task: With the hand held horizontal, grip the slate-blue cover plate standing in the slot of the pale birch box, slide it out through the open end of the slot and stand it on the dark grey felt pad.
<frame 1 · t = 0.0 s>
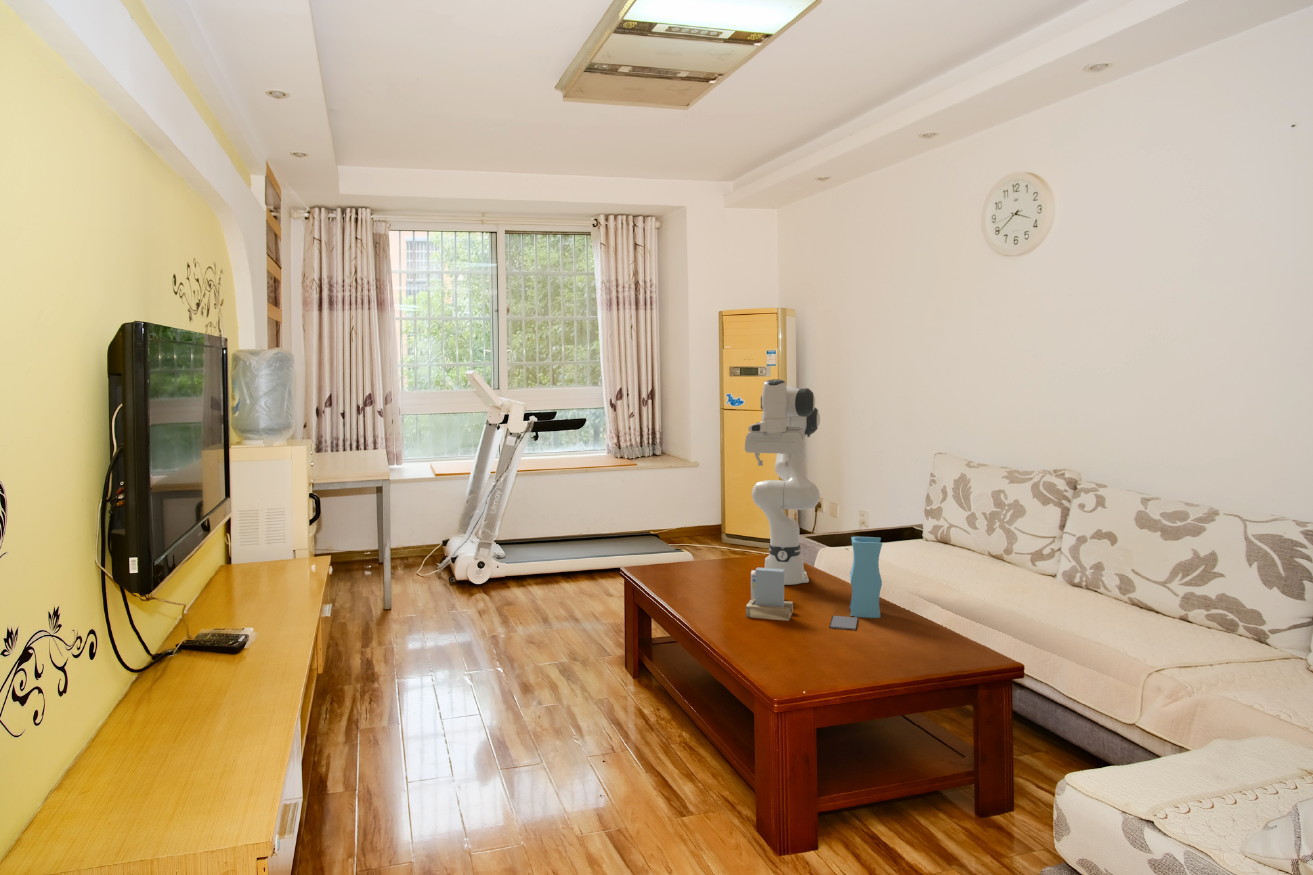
hand: (773, 466, 293), 48 cm above the table, tool pointing down, fingers open, 8 cm apart
felt pad: (837, 623, 271), on the table
cover plate: (769, 614, 278), point 1 cm above the table, touching birch box
vase: (864, 613, 283), on the table
light bulb box: (765, 602, 296), on the table
birch box: (769, 617, 278), on the table
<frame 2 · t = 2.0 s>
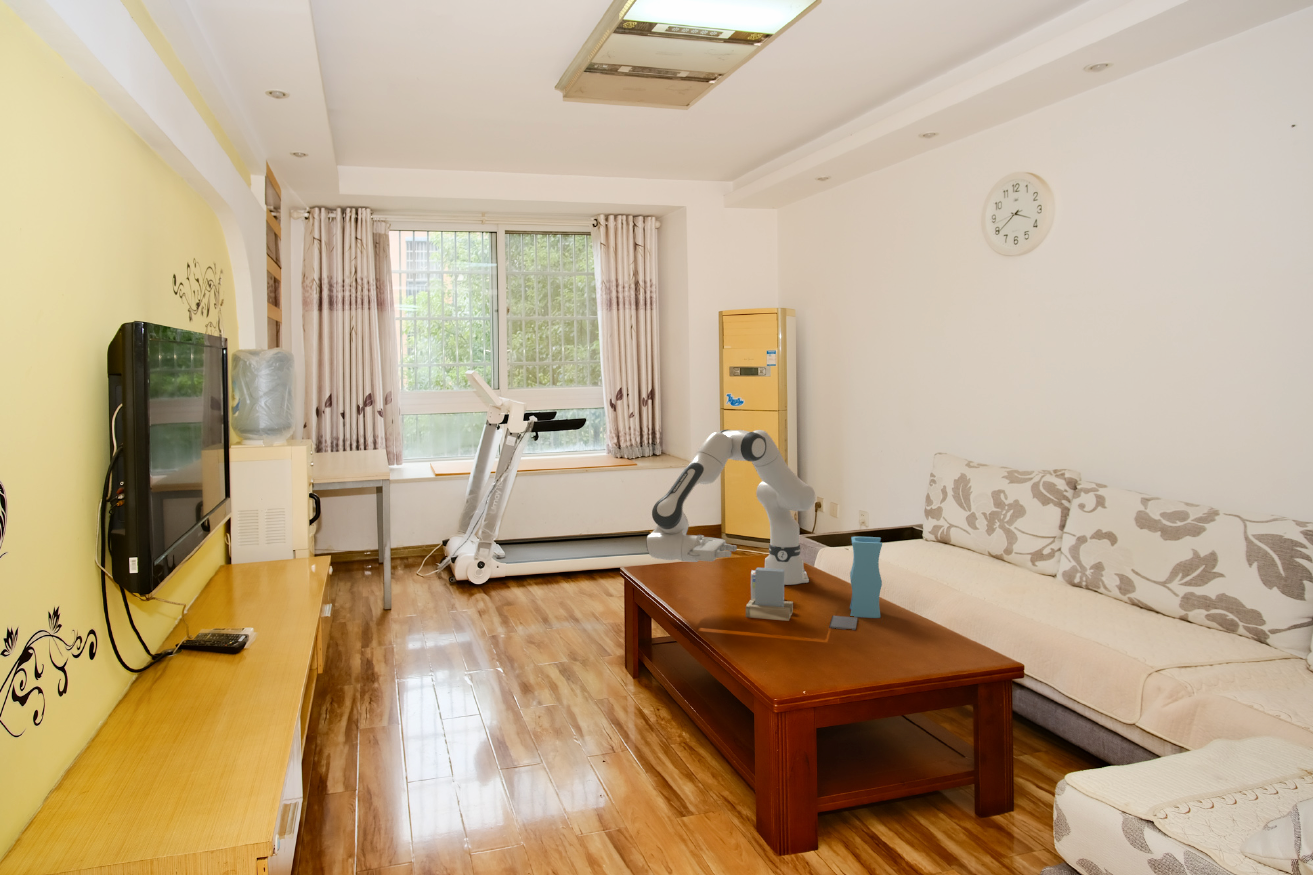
hand: (733, 551, 279), 21 cm above the table, tool horizontal, fingers open, 8 cm apart
nothing on the table moved.
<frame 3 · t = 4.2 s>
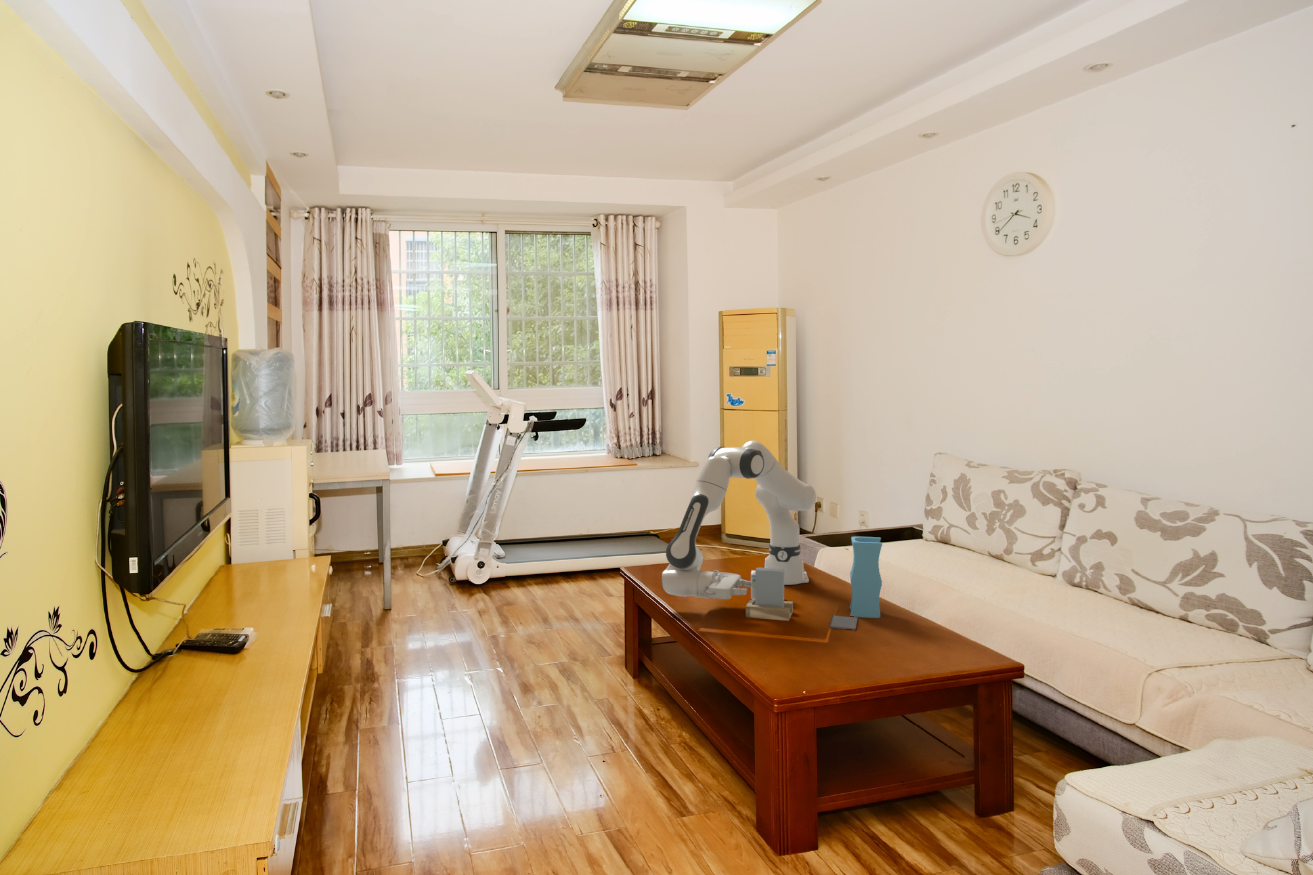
hand: (749, 587, 279), 9 cm above the table, tool horizontal, fingers open, 8 cm apart
nothing on the table moved.
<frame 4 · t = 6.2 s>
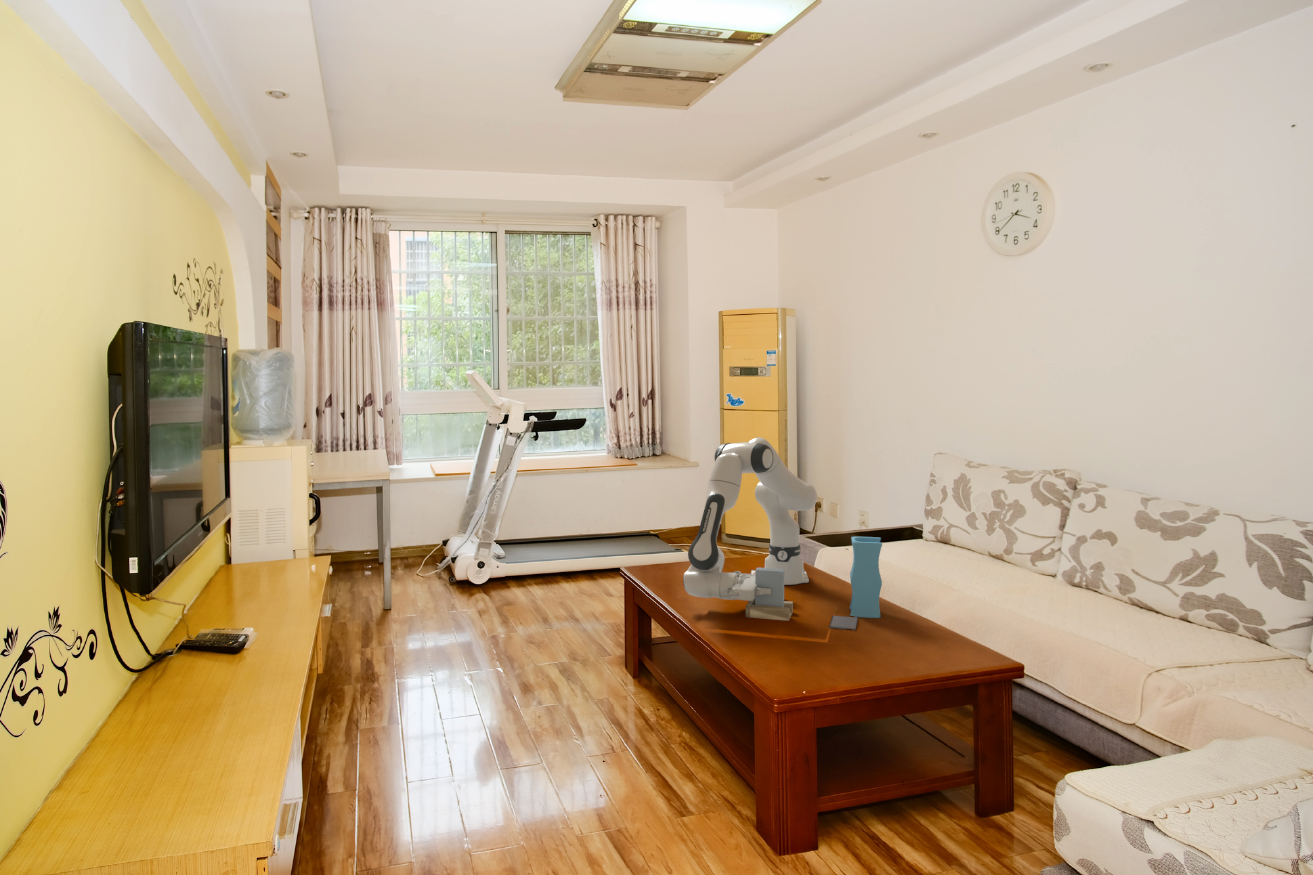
hand: (772, 589, 277), 10 cm above the table, tool horizontal, fingers closed on cover plate, 4 cm apart
cover plate: (769, 614, 278), point 1 cm above the table, touching birch box, gripper
everything else where it was.
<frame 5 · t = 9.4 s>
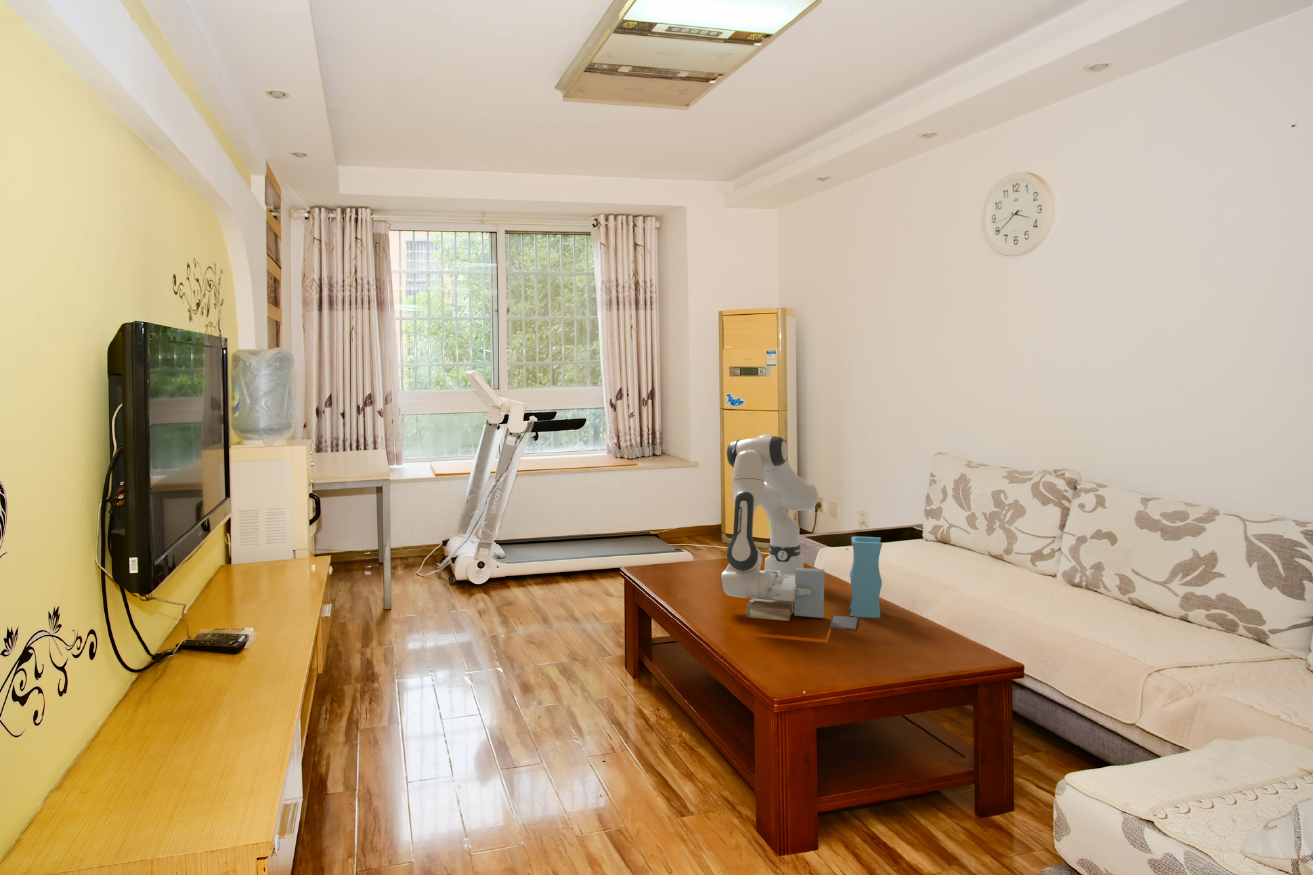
hand: (812, 589, 273), 10 cm above the table, tool horizontal, fingers closed on cover plate, 4 cm apart
cover plate: (809, 615, 274), point 2 cm above the table, touching gripper
everything else where it was.
when the fingers open (10 cm above the table, at t = 12.9 s): cover plate stays where it is, resting on felt pad.
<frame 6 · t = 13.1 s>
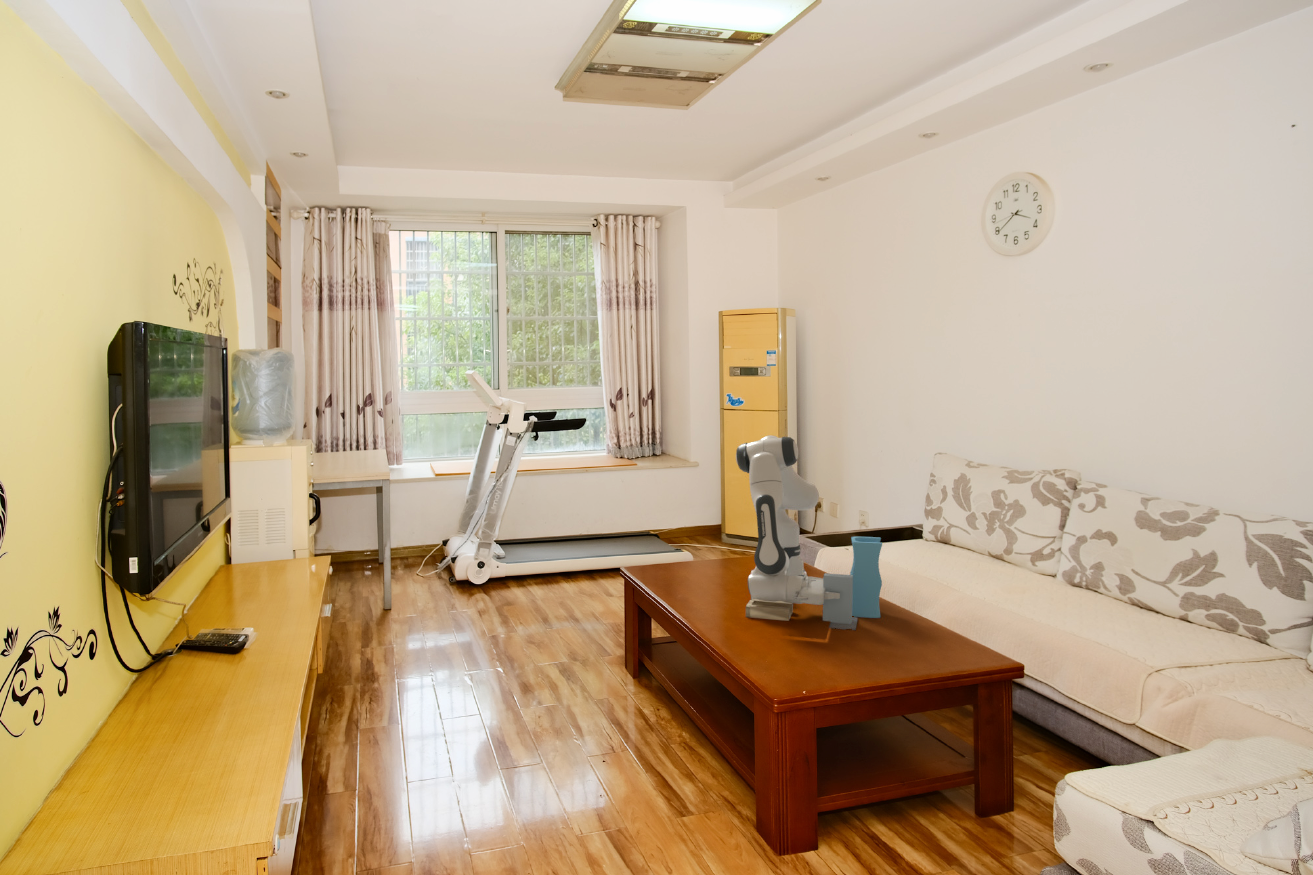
hand: (840, 592, 270), 10 cm above the table, tool horizontal, fingers open, 5 cm apart
cover plate: (837, 621, 271), point 1 cm above the table, touching felt pad
everything else where it was.
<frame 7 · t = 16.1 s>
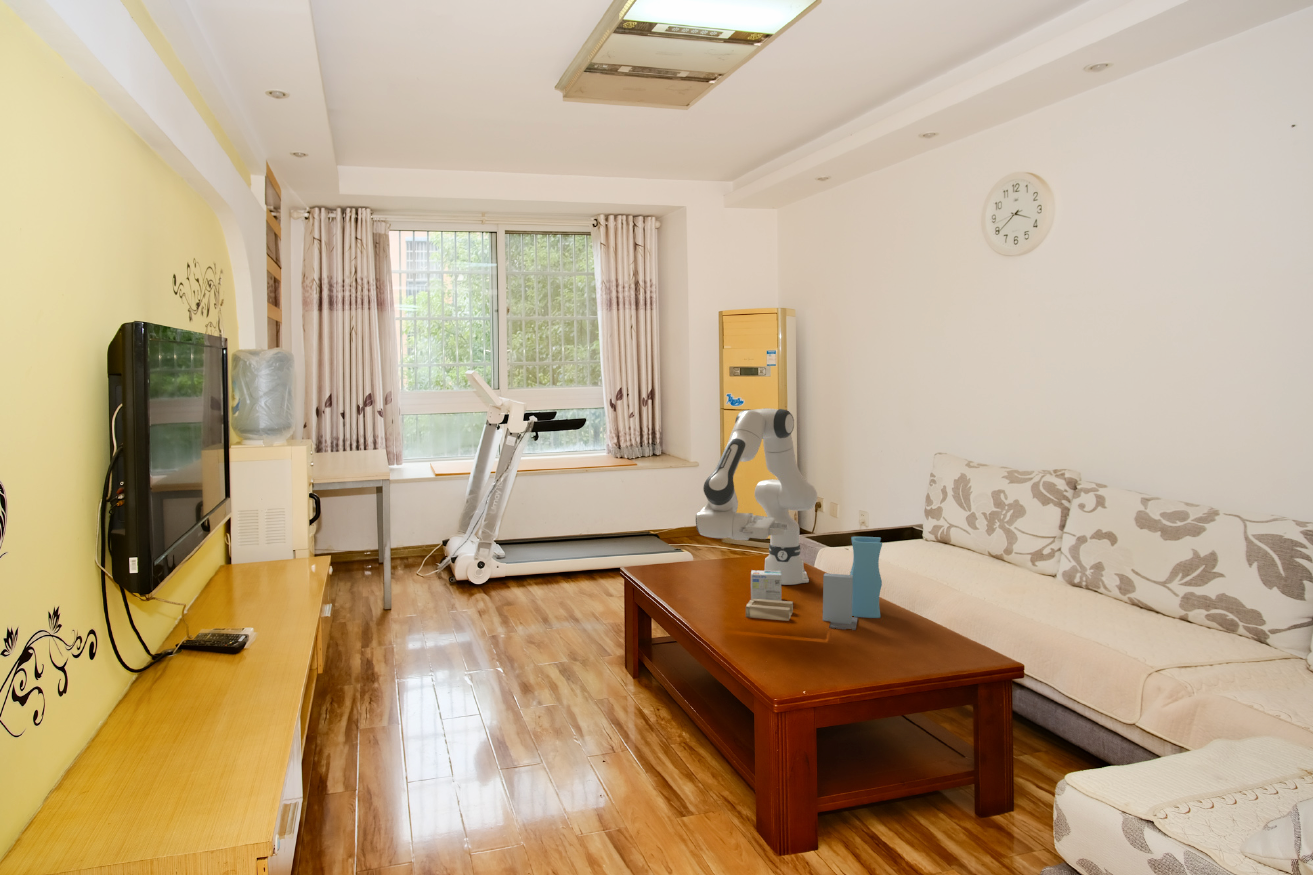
hand: (785, 529, 274), 30 cm above the table, tool horizontal, fingers open, 8 cm apart
nothing on the table moved.
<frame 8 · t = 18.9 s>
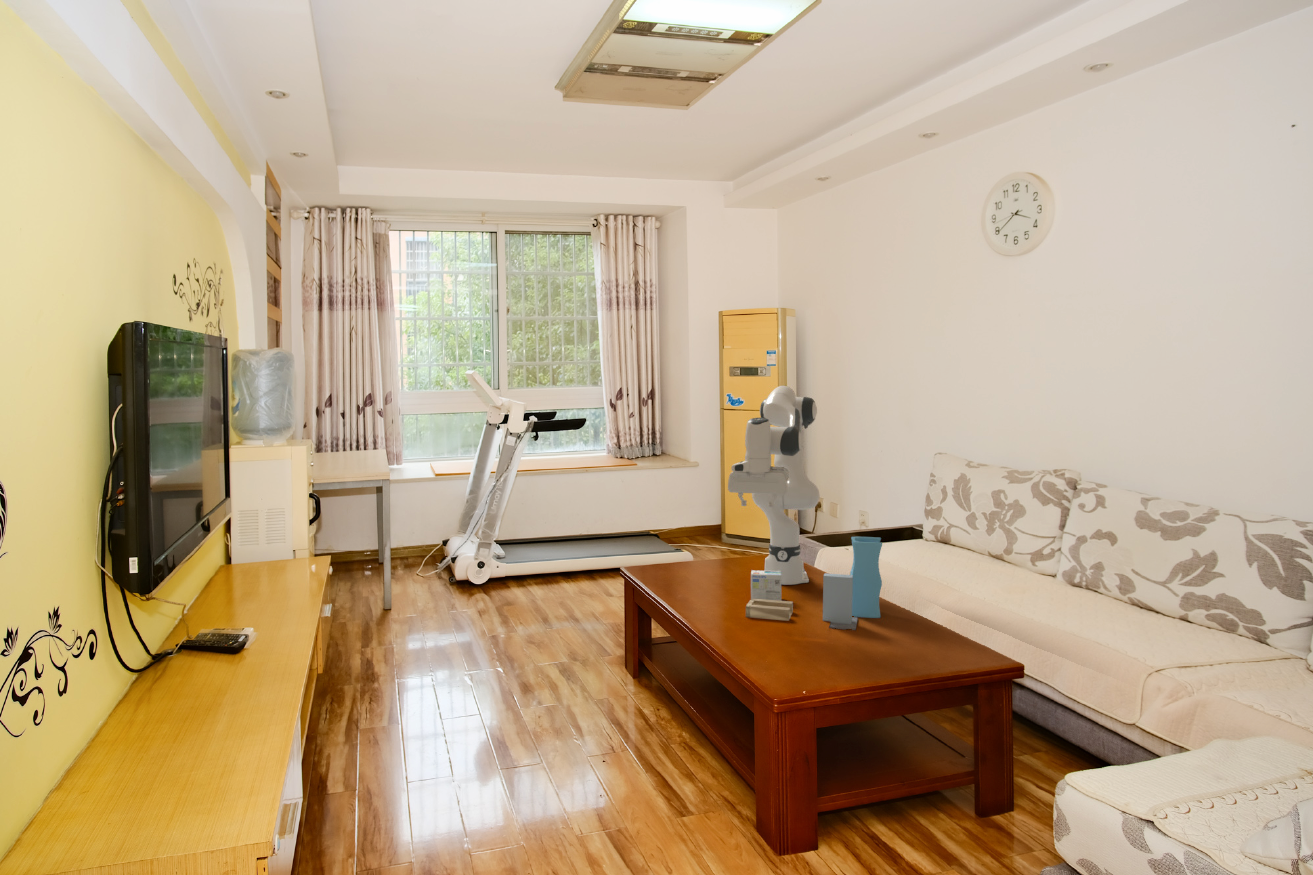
hand: (757, 506, 286), 35 cm above the table, tool pointing down, fingers open, 8 cm apart
nothing on the table moved.
at the end: cover plate inside the target area (0.0 cm from its centre), point 0.6 cm above the table; cover plate tilted 0°; the gripper is holding nothing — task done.
